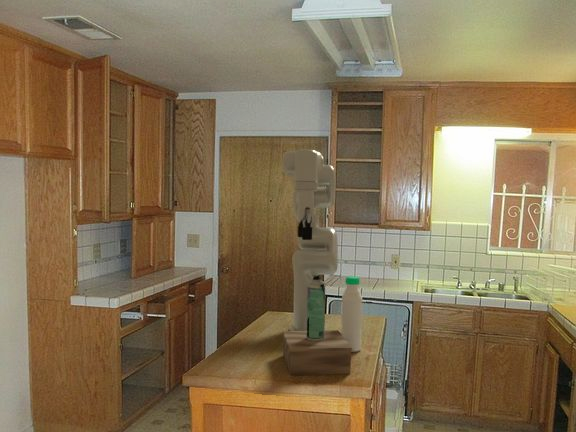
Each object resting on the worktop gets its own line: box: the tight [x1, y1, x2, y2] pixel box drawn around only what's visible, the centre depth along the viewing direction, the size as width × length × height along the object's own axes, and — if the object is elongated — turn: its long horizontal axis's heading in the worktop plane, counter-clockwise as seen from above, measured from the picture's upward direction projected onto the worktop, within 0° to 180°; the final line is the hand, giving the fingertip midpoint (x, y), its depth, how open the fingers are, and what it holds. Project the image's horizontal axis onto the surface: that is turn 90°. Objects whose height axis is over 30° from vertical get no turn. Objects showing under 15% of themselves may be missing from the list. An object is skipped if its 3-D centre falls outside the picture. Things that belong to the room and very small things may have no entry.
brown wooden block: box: [282, 329, 352, 376], centre depth 158 cm, size 19×19×8 cm
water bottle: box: [340, 275, 363, 353], centre depth 173 cm, size 7×7×25 cm
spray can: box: [307, 274, 326, 341], centre depth 157 cm, size 6×6×20 cm
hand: (304, 238), depth 169 cm, fingers open, 9 cm apart
